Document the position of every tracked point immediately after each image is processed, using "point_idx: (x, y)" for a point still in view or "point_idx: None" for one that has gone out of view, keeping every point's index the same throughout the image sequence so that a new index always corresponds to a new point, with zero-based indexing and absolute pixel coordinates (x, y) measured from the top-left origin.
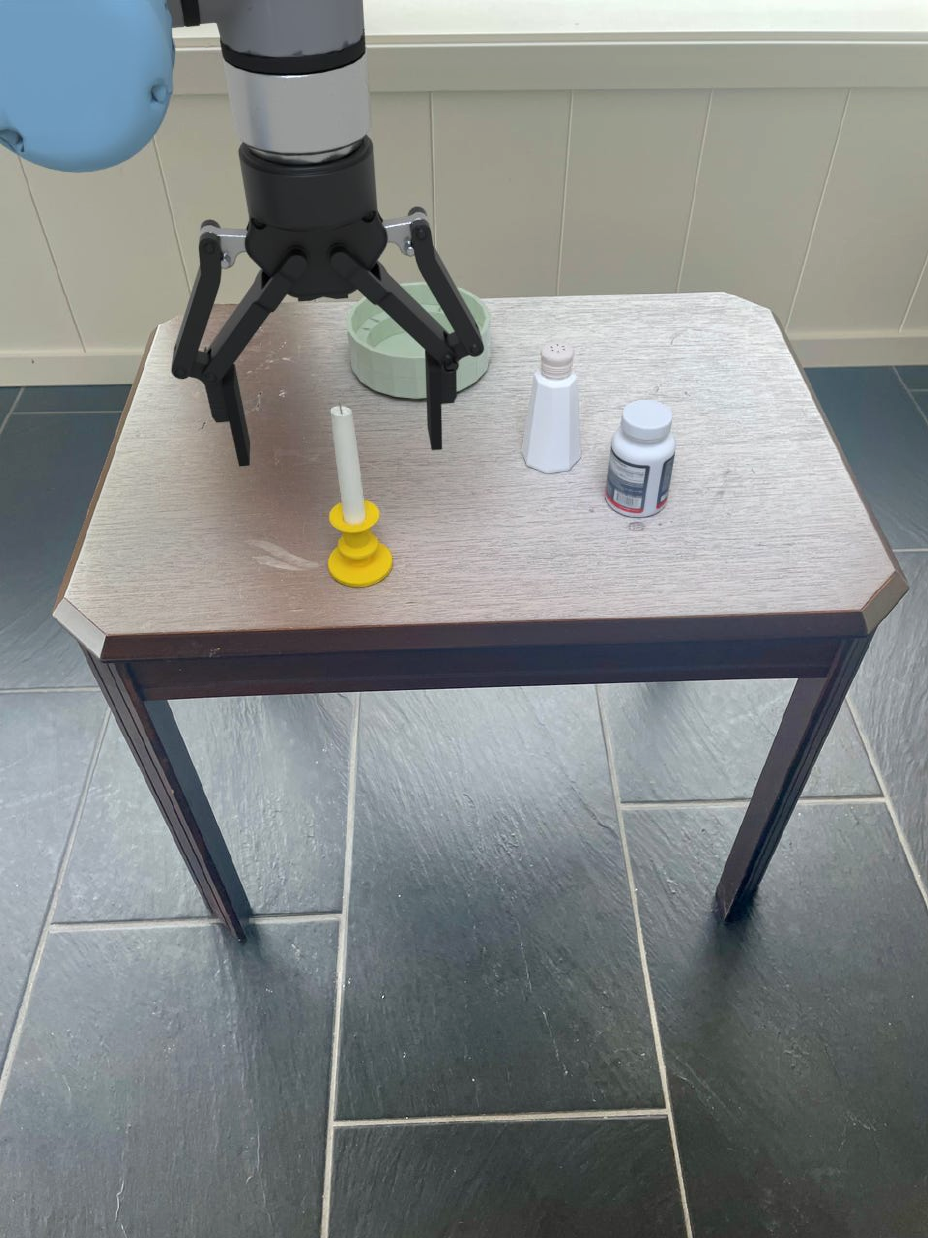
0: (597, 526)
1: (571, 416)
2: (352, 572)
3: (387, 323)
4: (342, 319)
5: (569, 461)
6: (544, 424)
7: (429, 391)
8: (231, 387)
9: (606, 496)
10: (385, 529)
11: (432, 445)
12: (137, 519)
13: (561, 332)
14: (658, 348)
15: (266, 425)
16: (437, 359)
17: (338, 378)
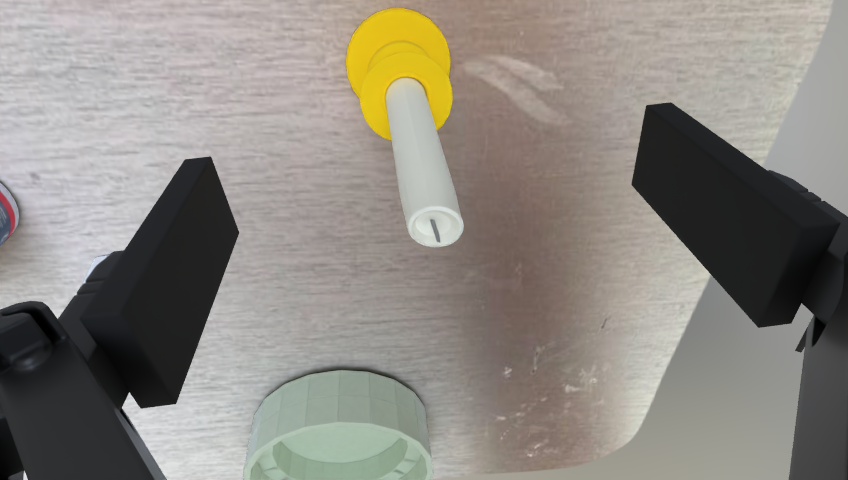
0: (12, 141)
1: None
2: (410, 36)
3: (384, 468)
4: (437, 470)
5: (90, 267)
6: None
7: (162, 267)
8: (807, 224)
9: (9, 200)
10: (364, 142)
11: (204, 162)
12: None
13: (172, 469)
14: None
15: (529, 325)
16: (74, 354)
17: (440, 395)
